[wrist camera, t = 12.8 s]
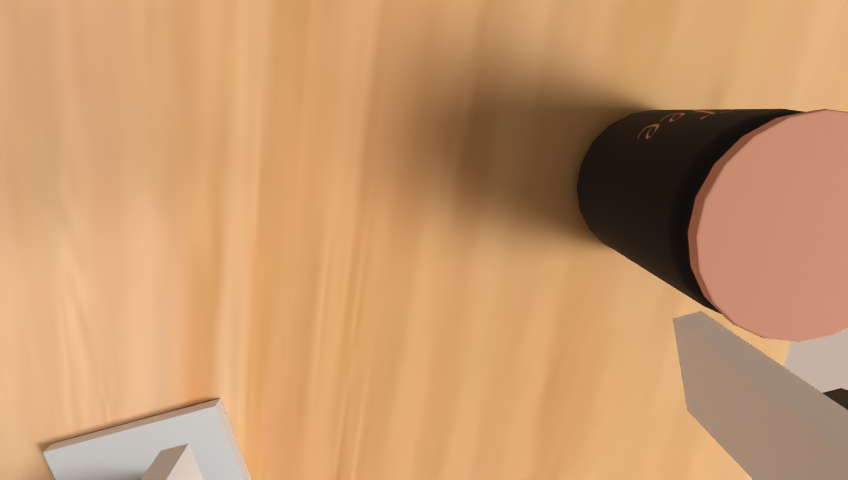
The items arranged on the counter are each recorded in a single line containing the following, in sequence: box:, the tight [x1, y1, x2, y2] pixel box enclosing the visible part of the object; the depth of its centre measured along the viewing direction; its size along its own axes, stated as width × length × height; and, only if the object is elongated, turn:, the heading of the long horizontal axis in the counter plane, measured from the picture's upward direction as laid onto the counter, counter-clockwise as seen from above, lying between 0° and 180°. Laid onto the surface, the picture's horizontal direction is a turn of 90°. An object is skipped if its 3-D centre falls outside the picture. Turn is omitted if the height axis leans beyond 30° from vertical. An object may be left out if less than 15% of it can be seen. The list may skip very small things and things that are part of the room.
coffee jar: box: [577, 109, 848, 342], centre depth 34 cm, size 11×11×18 cm
